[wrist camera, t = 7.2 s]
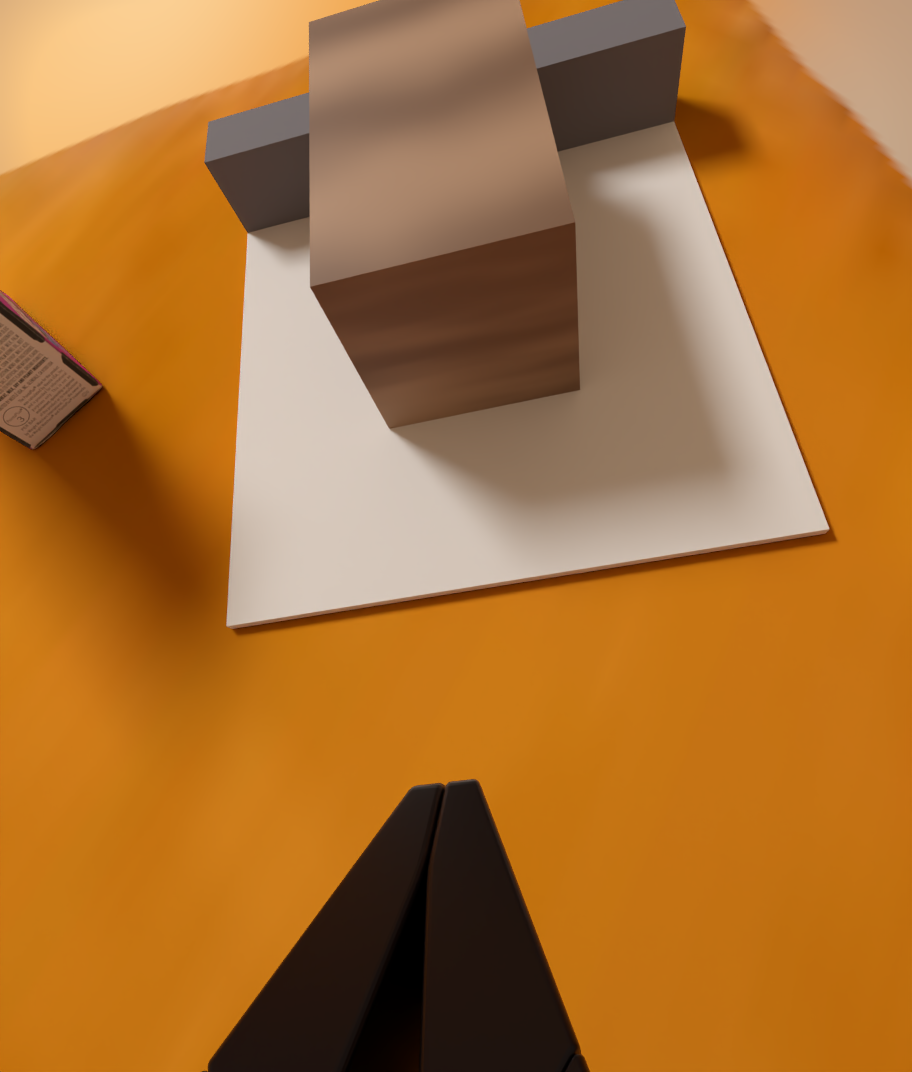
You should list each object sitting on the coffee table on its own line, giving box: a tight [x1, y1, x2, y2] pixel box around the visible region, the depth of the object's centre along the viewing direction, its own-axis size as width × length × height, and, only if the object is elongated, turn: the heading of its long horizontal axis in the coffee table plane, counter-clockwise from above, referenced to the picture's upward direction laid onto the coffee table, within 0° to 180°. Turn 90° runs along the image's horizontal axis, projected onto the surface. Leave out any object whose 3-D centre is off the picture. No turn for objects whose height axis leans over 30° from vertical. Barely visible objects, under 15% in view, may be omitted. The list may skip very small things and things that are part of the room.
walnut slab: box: [309, 0, 580, 429], centre depth 24 cm, size 14×8×8 cm, turn 6°
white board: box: [205, 0, 829, 629], centre depth 25 cm, size 25×22×4 cm
